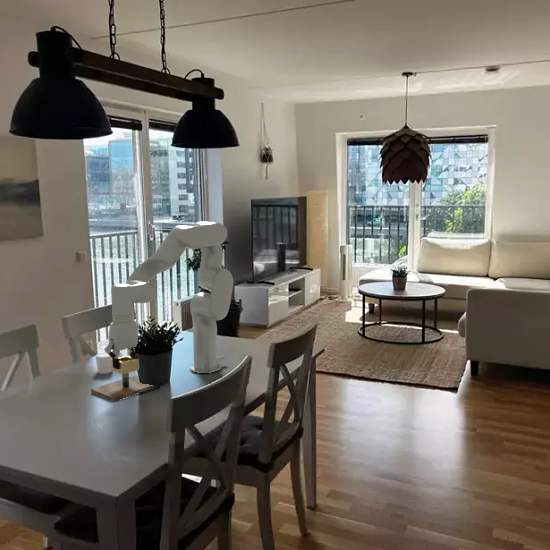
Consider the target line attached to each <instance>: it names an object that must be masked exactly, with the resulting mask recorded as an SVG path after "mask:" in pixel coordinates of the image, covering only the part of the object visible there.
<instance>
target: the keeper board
mask: <svg viewBox="0 0 550 550" xmlns="http://www.w3.org/2000/svg"><path fill="white" fill-rule="evenodd" d="M137 375H138V374H136V375H135V374H134V375H133V376H129V386H128V387H123V384H122V379H119V380H116V381H113V382H110V383H109V382H108V383H106V384H103V385H99V386H95V387H92V388H91V389H90V393H91V394H93V393H94V395H95V394H96V395H95V396H98V397H100V396H101V398H103V399H105V398H106V399H105V400H107V399H108V401H110V400H111V401H110V402H112V401H113V402H112V403H115V401H116V402H118V400H119V401H121V400H120V399H122V400H124V399H123V398H125V399H127V398H126V397H128V398H130V397H129V396H131V397H133V396H132V395H134V394H137V393H140V392H142V391H145V390H148V389H150V388H152V387H153V386H154V385H149V384H142V383H140V382H139V379H138V376H137ZM140 394H141V393H140ZM137 395H138V394H137ZM134 396H135V395H134Z"/></svg>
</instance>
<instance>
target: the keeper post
mask: <svg viewBox="0 0 550 550" xmlns="http://www.w3.org/2000/svg"><path fill="white" fill-rule="evenodd" d="M129 377H130V372H129V373H126V374H121V380H122V384H123V387H128V386H129Z"/></svg>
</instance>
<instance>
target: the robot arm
mask: <svg viewBox="0 0 550 550" xmlns="http://www.w3.org/2000/svg"><path fill="white" fill-rule="evenodd" d="M227 238H228V230H227V228H226V226H225V225H224V224H222V223H221V222H215V221H204V220H202V221H197V222H195V223H194V224H193V226H192V225H181V224H180V225H176V226H174V227H173V228H172V229H171V230H170V231H169V233H168V235H166V237H165V238H164V240H163V241H162V243H161V244H160V246H159V247H157V249H156V250H155V252H154V253H153V254H152V255H151V256H150V257H148V258H147V259H145V260H144V261H143V262H142V263H140V264H139V265H138V266H136V268H135V269H134V270H133V271H132V273H131V274H130V276H129V277H128V278H127V280H126V282H125V283H117V284H114V285H112V286H111V288H110V294H111V317H112V318H111V319H112V322H110V324H109V328H108V329H109V330H108V344H107V346H105V348H104V353H108V355H109V356H111V358H112V362H113V368H115V369H120V367H119V362H120V360H119V356H120V353H121V351H122V352H123V351H125V350H128V349H130V351H131V352H130V354H129V356H131V357H134V358H136V357H135V350H134V349H135V348H134V347H136V346H137V344H138V338H140V337H139V332H138V331H139V330H138V327H137V322H136V319H135V317H137V313H136V312H135V310H134V309H135V308H134V304H147V303H150V302H153V300H154V299H155V298H156V295H157V289H156V287H155V286H154V285H153V284H151V282H150V280H152V279H153V278H154V277H156V275H158V274H161V273H164V272H167V271H168V270H171V269H172V268H174V266H175V265H176V264H177V262H178V260H179V259H180V258H181V256H182V254H183V253H184V252H185V250H186V249H188V250H195V249H196V250H197V249H198V250H199V249H200V251H201V258H200V265H199V269H198V270H199V271H198V277H197V283H198V286H199V287H200V288H201V289H203V290H208V291H210V293H209V292H197V293H196V294H194V295H193V296H192V297H191V300H190V302H189V303H190V304H189V307H190V309H189V310H190V314H191V318H192V334H193V335H192V336H193V340H192V342H193V343H192V344H193V364H191V365H190V366H189V370H190V371H191V372H192V371H193V372H192V373H194V372H197V373H196V374H199V373H209V374H213V373H212V372H215V371H218V370H220V369H221V370H222V365H221V364H220V363H221V362H224V361H225V360H226V356H225V355H221V356H218V327H217V321H221V320H223V319H225V318H226V317H227V315H228V312H229V309H230V305H231V300H232V295H233V288H234V279H233V275H232V273H231V272H230V270H228V269H226V268H223V267H222V266H223V259H224V258H223V257H224V252H223V251H224V250H223V246H222V244H223V243H224V242H225V241H226V240H227ZM221 370H220V371H221ZM218 372H219V371H218ZM215 373H216V372H215Z"/></svg>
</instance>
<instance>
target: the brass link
mask: <svg viewBox="0 0 550 550" xmlns="http://www.w3.org/2000/svg"><path fill="white" fill-rule="evenodd" d="M118 358H119V360H120V362H119V367H120V369H115V368H113V362H112V360H111V367H112V372H116V373H117V374H118V373H119V374H121V375H122V374H126V373H129V374H130V373H132V372H135V371H138V370H140V358H138V357H137V358H138V359H137V358H134V357H131V356H130V355H123V356H120V357H119V356H118Z"/></svg>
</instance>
